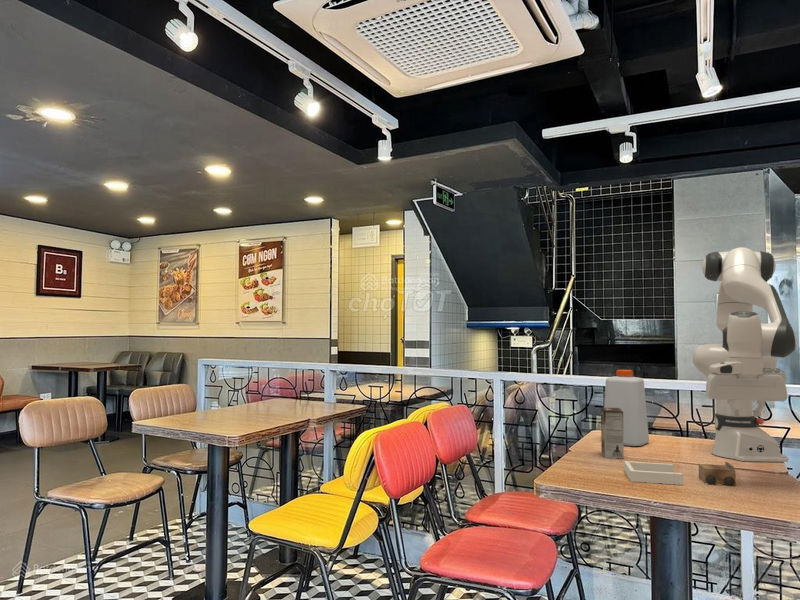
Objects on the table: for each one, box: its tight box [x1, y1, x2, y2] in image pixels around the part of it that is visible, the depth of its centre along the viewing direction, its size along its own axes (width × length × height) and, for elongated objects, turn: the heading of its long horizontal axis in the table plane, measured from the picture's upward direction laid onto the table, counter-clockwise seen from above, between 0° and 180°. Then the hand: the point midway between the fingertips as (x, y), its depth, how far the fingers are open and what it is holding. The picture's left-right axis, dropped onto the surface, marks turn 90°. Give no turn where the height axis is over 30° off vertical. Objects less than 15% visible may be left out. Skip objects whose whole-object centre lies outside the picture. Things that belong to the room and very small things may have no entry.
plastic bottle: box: [603, 369, 650, 447], centre depth 221 cm, size 15×15×28 cm
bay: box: [623, 460, 684, 486], centre depth 168 cm, size 14×13×3 cm
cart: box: [698, 461, 737, 487], centre depth 164 cm, size 8×7×5 cm
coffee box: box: [600, 407, 625, 460], centre depth 197 cm, size 9×6×16 cm
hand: (746, 416), depth 163 cm, fingers open, 4 cm apart
